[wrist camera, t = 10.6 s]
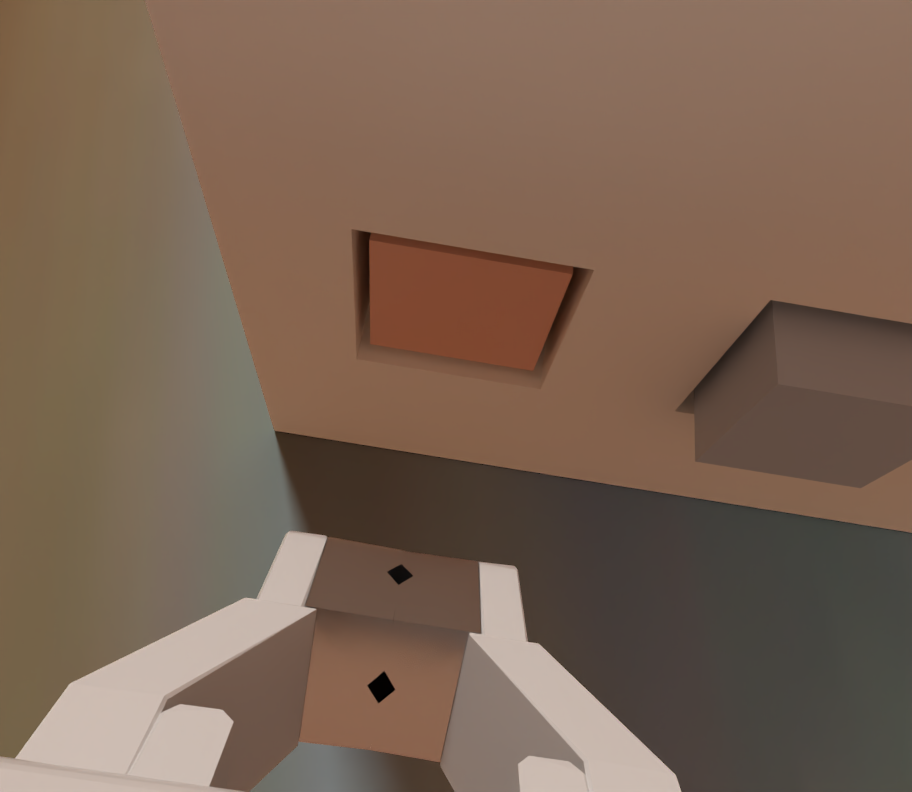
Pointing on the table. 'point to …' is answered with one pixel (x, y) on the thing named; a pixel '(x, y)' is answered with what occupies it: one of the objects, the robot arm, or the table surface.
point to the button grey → (810, 397)
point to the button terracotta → (462, 301)
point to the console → (553, 209)
